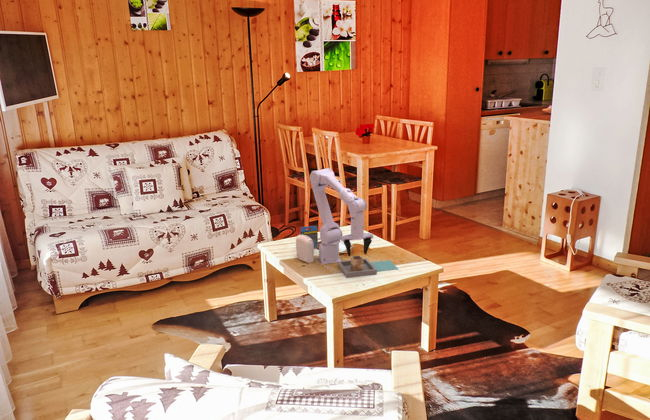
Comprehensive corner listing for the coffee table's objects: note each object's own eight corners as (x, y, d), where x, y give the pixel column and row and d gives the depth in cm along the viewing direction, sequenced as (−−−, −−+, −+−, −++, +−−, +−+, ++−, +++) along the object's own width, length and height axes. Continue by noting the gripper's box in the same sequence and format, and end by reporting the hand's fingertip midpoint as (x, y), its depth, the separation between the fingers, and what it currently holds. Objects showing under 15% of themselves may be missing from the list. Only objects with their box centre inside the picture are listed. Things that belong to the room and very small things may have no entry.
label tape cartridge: (316, 245, 265) (315, 223, 261) (318, 248, 261) (317, 225, 258) (299, 247, 262) (298, 224, 259) (301, 250, 259) (300, 227, 255)
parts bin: (346, 278, 225) (346, 273, 225) (338, 266, 238) (337, 261, 238) (376, 275, 229) (376, 269, 228) (366, 263, 242) (366, 258, 241)
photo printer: (295, 257, 249) (294, 233, 246) (302, 255, 252) (301, 232, 248) (308, 264, 241) (307, 239, 238) (315, 261, 244) (314, 237, 240)
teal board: (375, 272, 231) (375, 271, 231) (367, 263, 241) (367, 262, 241) (398, 270, 234) (398, 269, 234) (389, 261, 244) (389, 260, 244)
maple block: (353, 272, 231) (353, 259, 229) (350, 268, 235) (350, 256, 233) (363, 271, 232) (363, 258, 230) (360, 267, 236) (360, 255, 234)
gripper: (344, 230, 222) (344, 259, 226) (375, 227, 225) (375, 256, 229) (339, 225, 229) (339, 253, 232) (370, 222, 232) (370, 250, 236)
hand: (357, 254), depth 231 cm, fingers open, 7 cm apart
